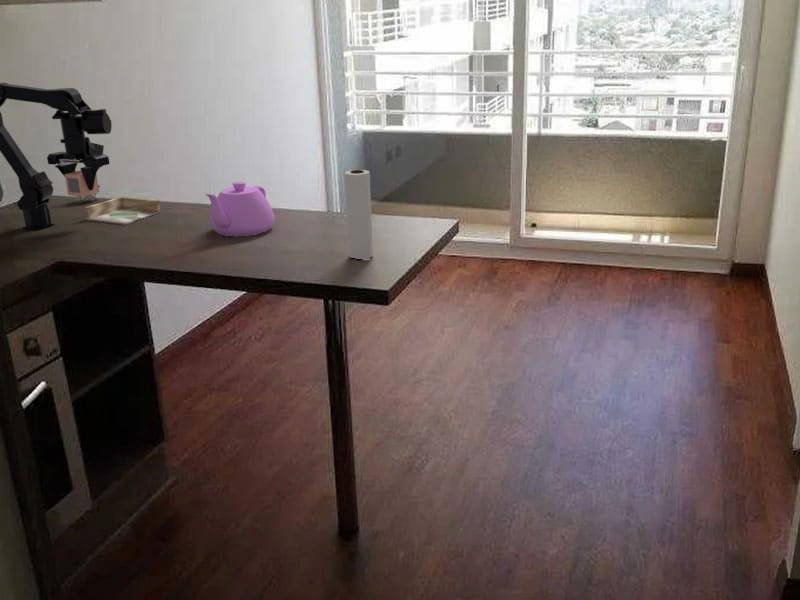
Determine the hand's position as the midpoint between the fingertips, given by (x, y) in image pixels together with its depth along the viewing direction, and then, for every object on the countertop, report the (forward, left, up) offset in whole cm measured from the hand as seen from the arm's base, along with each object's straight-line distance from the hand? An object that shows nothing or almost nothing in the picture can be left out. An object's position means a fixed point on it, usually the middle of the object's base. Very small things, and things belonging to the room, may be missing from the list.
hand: (83, 189), depth 230 cm
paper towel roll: (+2, -90, -11) cm, 91 cm away
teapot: (+12, -46, -11) cm, 49 cm away
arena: (+12, -2, -11) cm, 16 cm away
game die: (+24, +26, -11) cm, 37 cm away
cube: (0, 0, -1) cm, 1 cm away
